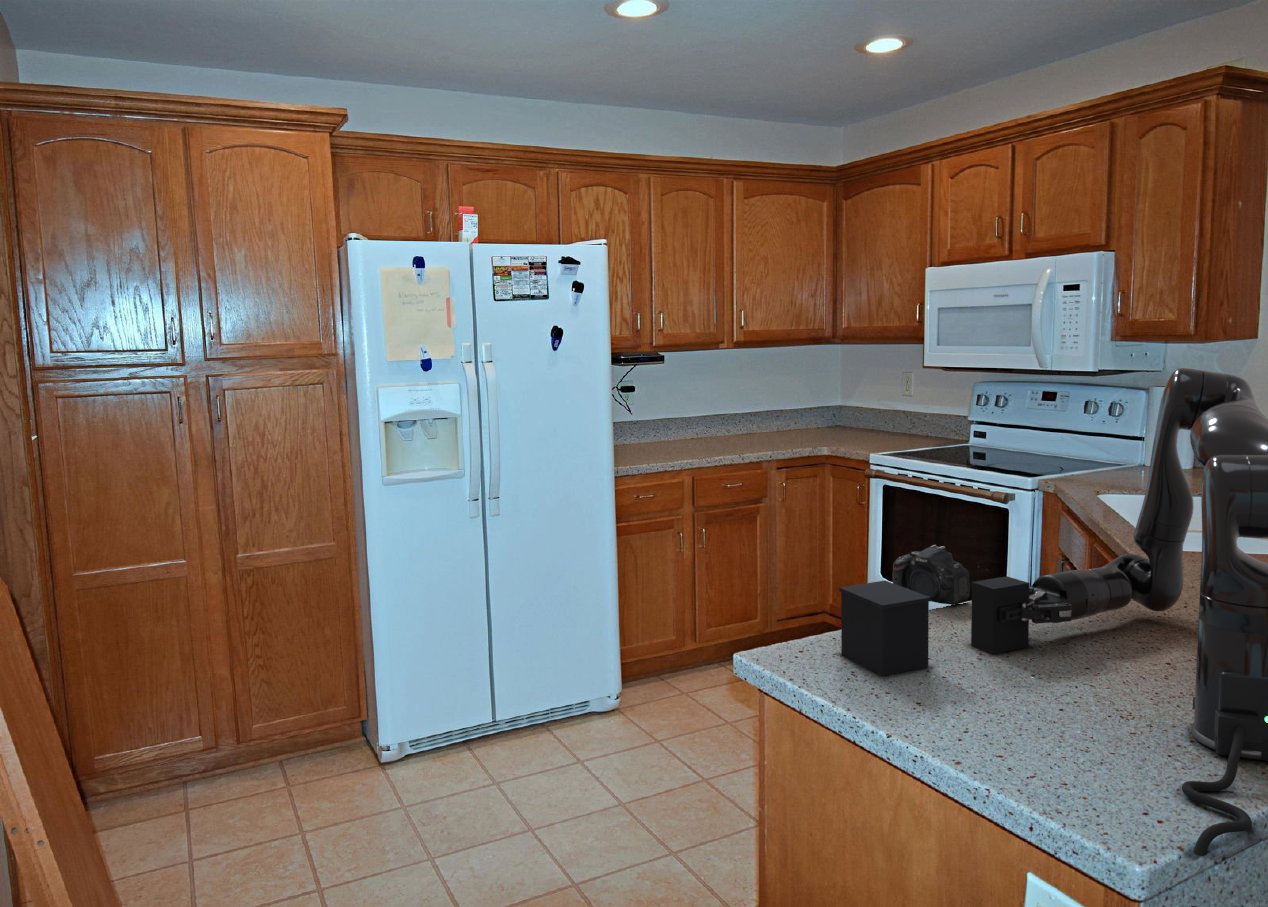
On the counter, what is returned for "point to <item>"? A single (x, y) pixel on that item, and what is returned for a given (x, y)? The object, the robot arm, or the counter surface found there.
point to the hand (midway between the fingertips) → (986, 610)
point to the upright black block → (984, 615)
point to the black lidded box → (885, 627)
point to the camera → (933, 575)
